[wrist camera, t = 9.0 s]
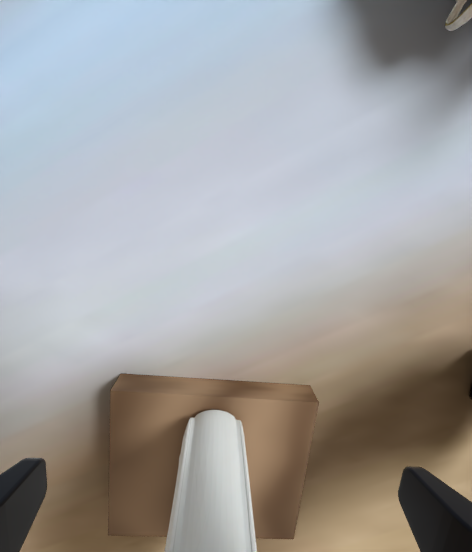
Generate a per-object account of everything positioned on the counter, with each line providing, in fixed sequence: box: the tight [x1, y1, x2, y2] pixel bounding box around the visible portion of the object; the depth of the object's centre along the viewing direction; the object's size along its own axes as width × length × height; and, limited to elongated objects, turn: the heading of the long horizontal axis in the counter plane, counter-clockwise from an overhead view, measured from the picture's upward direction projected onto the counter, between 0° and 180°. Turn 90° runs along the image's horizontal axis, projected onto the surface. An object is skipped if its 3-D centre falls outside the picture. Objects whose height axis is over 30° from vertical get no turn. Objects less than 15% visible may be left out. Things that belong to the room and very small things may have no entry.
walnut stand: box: [108, 374, 319, 539], centre depth 21 cm, size 14×12×2 cm
